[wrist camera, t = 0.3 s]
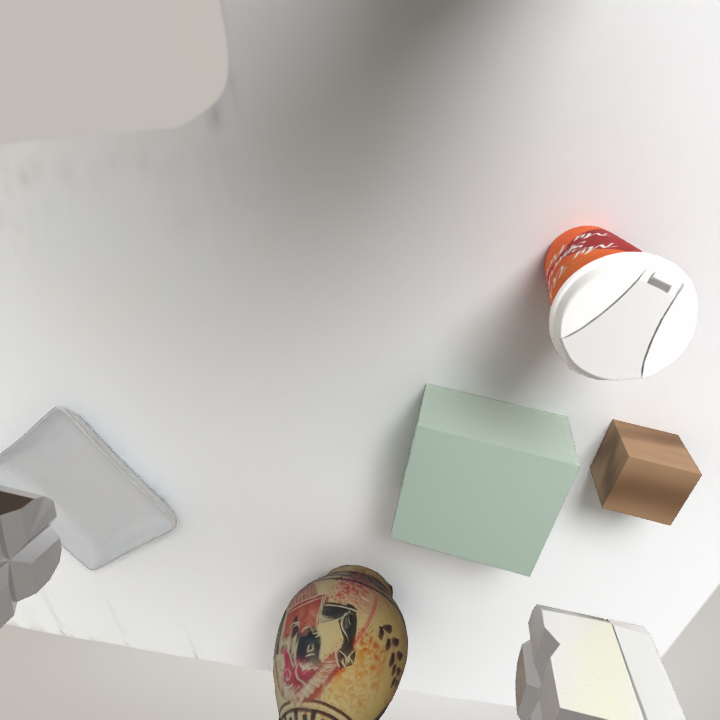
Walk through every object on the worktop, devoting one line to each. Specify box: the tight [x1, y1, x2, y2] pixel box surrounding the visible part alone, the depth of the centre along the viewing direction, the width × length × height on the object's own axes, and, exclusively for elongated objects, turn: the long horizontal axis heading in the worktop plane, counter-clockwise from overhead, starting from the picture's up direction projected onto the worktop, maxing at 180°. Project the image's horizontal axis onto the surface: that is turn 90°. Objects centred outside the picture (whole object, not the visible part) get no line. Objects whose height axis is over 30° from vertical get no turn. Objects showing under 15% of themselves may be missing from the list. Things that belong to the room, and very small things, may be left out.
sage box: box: [390, 383, 580, 577], centre depth 50 cm, size 14×14×8 cm
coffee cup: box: [545, 226, 698, 380], centre depth 36 cm, size 8×8×15 cm
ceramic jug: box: [273, 565, 408, 720], centre depth 53 cm, size 17×15×30 cm
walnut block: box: [590, 419, 702, 525], centre depth 46 cm, size 6×6×6 cm
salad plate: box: [0, 406, 177, 570], centre depth 67 cm, size 21×21×3 cm
